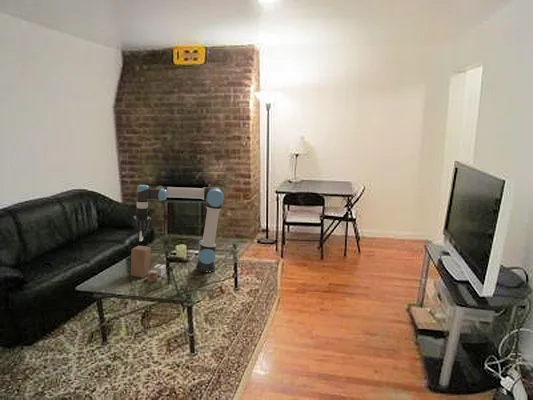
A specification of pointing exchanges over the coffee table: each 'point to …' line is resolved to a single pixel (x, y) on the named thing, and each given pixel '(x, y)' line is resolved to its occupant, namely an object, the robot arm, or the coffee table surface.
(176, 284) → the coffee table surface
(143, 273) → the block
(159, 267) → the striped grey block
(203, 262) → the robot arm
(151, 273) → the marked walnut cube
